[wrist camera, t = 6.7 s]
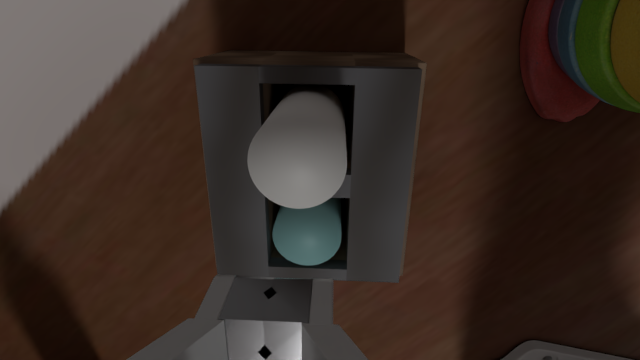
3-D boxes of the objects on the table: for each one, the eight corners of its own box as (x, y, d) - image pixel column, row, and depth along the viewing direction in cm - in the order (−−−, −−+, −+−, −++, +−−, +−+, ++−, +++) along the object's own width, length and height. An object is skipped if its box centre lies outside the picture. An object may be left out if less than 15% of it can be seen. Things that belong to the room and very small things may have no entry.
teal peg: (341, 158, 28) (342, 206, 21) (340, 206, 30) (340, 266, 23) (288, 157, 29) (271, 204, 21) (289, 205, 30) (273, 264, 23)
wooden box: (404, 52, 26) (431, 65, 18) (389, 222, 31) (404, 285, 23) (229, 50, 26) (185, 61, 19) (242, 217, 31) (211, 277, 24)
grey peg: (346, 83, 22) (349, 115, 14) (343, 150, 23) (345, 210, 16) (276, 82, 22) (244, 113, 14) (278, 148, 23) (250, 207, 16)
